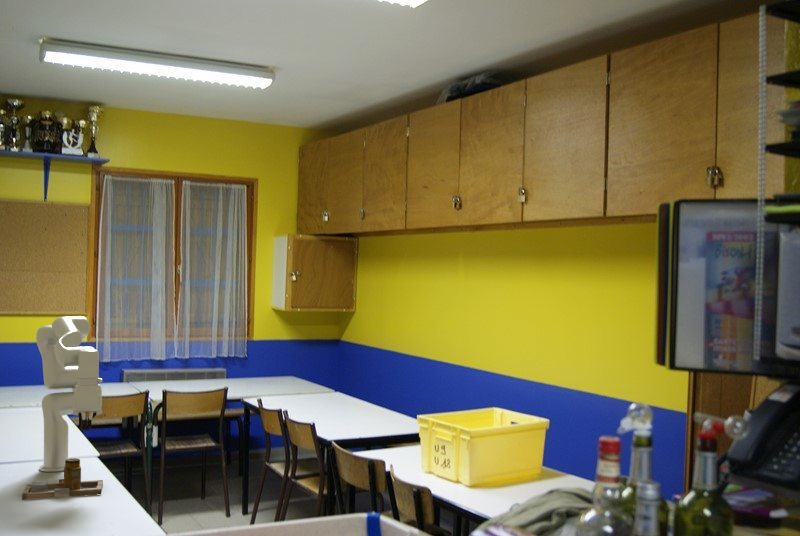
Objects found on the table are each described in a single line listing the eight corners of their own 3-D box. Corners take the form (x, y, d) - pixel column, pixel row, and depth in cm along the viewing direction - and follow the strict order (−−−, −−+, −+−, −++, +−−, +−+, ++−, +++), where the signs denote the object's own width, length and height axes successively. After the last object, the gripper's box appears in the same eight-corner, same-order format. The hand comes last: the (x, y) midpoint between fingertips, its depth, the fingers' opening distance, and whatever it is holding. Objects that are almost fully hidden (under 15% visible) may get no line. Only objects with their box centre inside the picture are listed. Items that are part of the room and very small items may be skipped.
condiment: (81, 488, 319) (82, 456, 319) (82, 494, 312) (82, 461, 312) (61, 489, 317) (61, 458, 317) (61, 495, 309) (61, 463, 309)
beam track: (27, 489, 317) (27, 478, 317) (102, 484, 325) (103, 474, 325) (21, 500, 302) (21, 489, 302) (100, 495, 310) (101, 484, 310)
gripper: (109, 379, 324) (108, 426, 324) (67, 380, 319) (66, 428, 320) (108, 382, 317) (107, 431, 317) (66, 383, 312) (65, 432, 312)
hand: (87, 429), depth 318 cm, fingers closed
